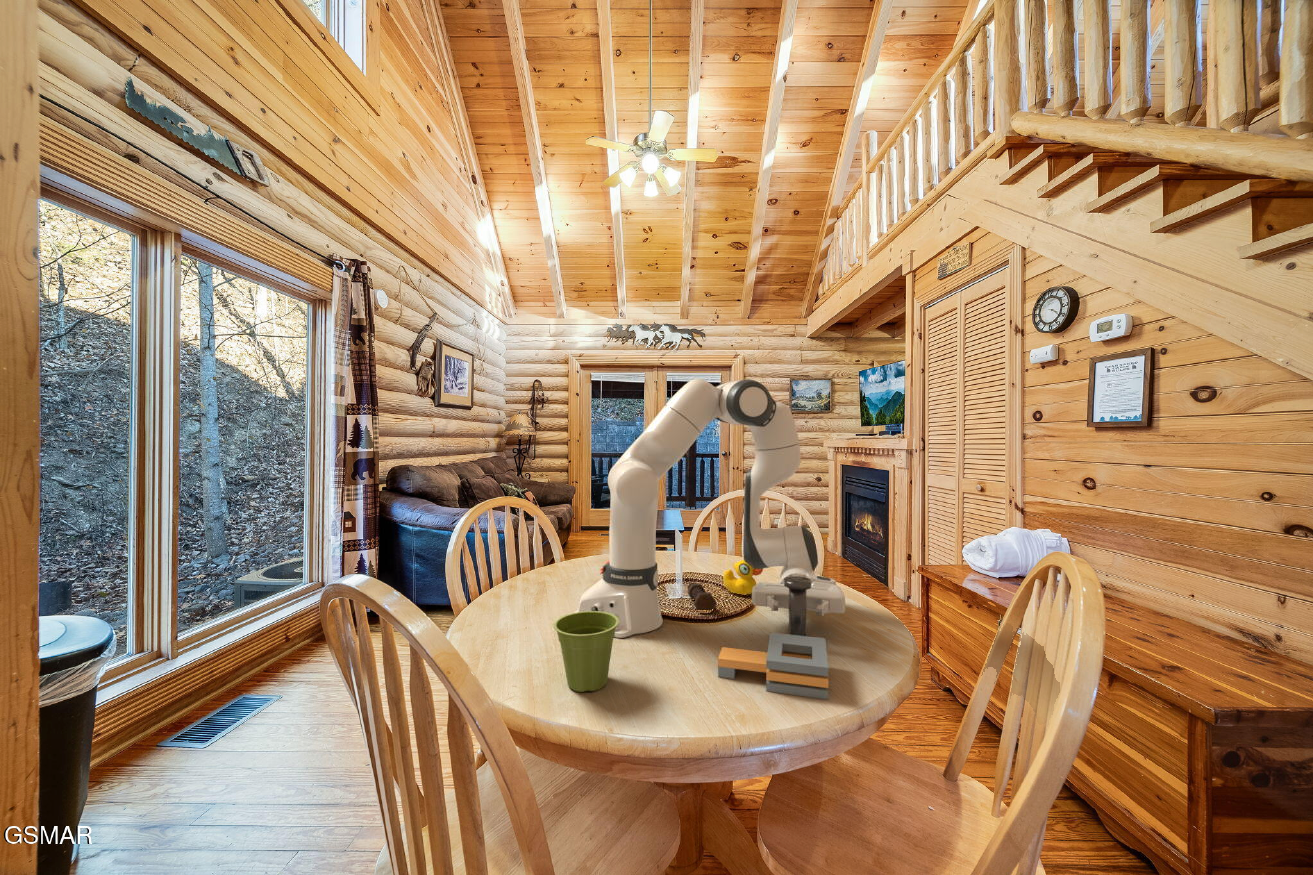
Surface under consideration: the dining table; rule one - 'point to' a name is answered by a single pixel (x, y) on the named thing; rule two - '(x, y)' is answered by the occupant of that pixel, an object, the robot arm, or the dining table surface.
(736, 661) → the bracket
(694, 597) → the bolt
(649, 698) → the dining table surface
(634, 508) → the robot arm
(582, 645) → the plant pot
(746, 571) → the duckling
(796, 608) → the pin
